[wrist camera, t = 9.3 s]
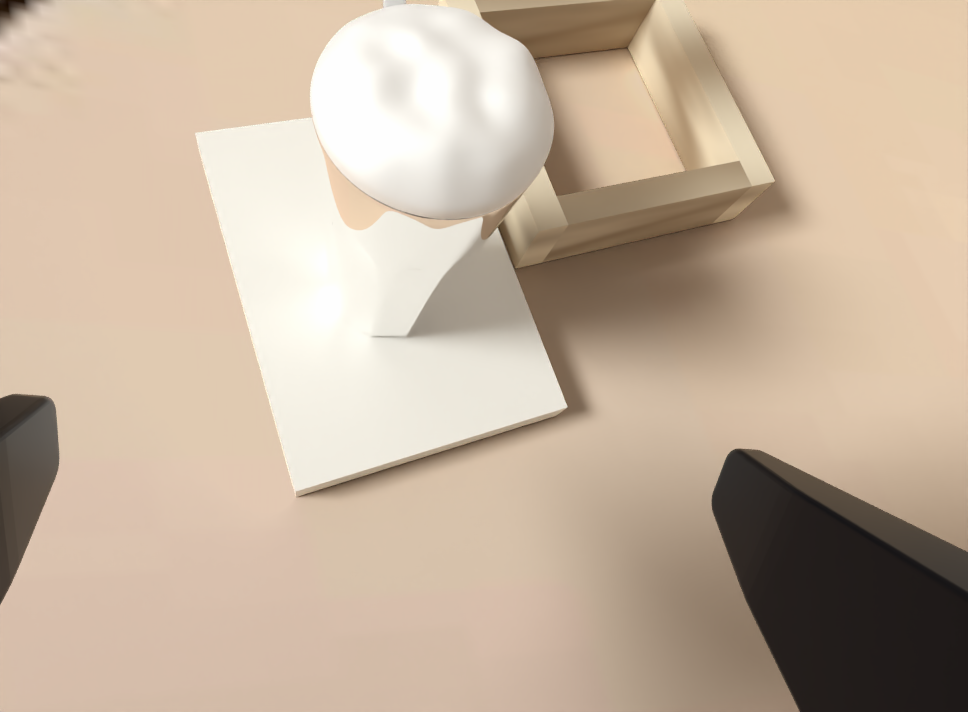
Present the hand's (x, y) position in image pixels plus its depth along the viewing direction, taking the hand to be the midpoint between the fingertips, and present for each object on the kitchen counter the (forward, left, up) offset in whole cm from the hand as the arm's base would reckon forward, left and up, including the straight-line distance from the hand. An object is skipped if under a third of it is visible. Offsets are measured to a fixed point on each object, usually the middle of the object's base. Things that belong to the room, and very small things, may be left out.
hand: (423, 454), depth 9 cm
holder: (+11, -12, -10) cm, 19 cm away
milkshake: (+7, -3, -10) cm, 12 cm away
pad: (+7, -3, -10) cm, 13 cm away
